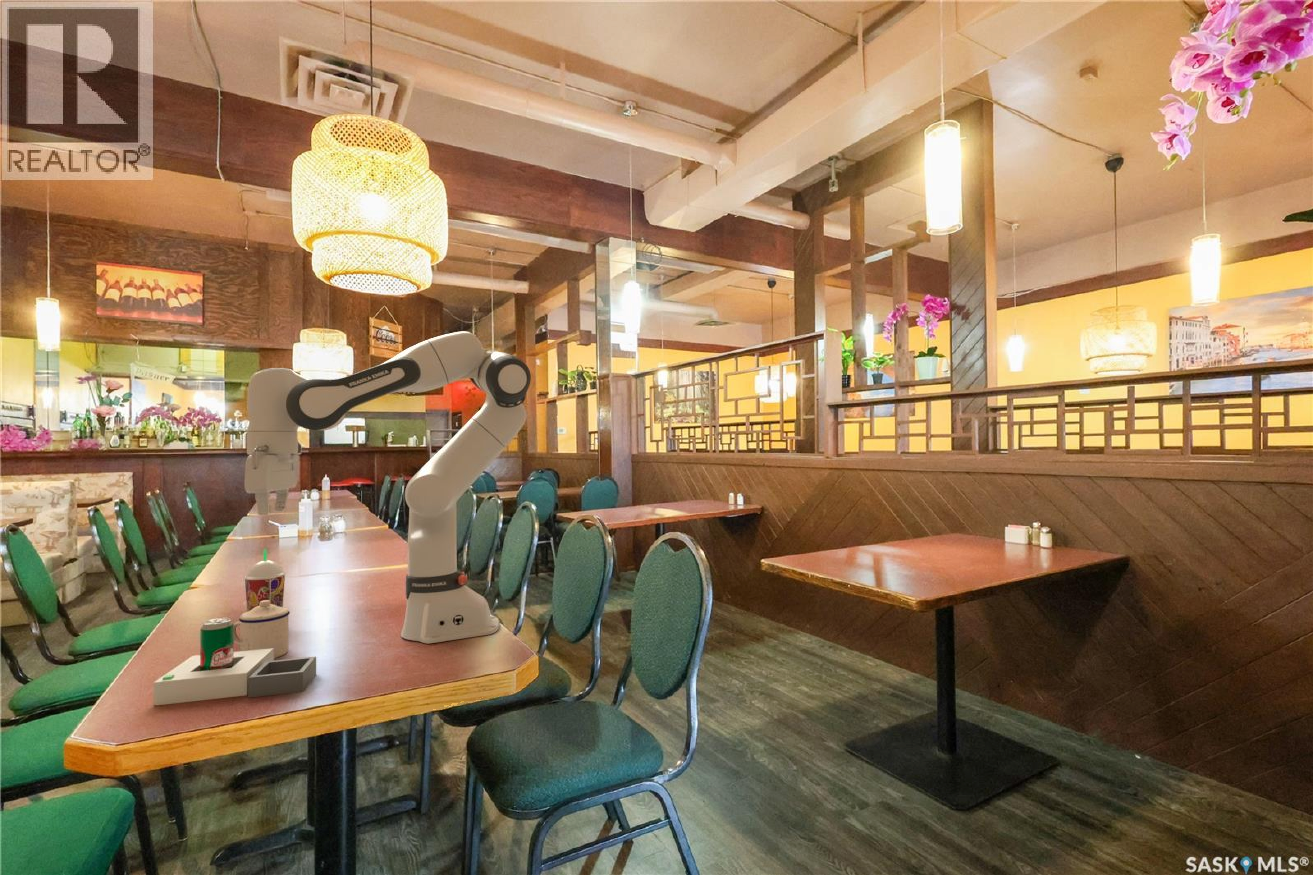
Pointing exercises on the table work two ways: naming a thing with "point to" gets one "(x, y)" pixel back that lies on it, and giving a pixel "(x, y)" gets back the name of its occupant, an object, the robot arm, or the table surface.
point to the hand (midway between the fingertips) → (272, 512)
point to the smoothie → (264, 583)
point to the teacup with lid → (264, 629)
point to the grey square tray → (282, 676)
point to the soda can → (217, 644)
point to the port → (209, 679)
